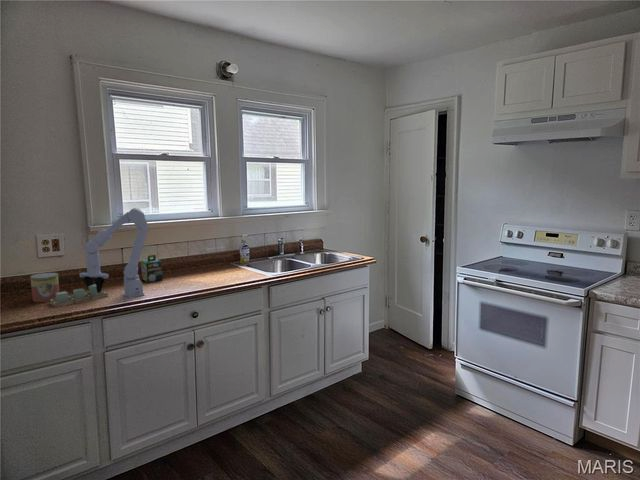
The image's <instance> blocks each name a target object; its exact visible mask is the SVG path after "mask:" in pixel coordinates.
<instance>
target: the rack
mask: <svg viewBox="0 0 640 480" xmlns="http://www.w3.org/2000/svg"><path fill="white" fill-rule="evenodd" d="M68 296H69V300H66V301H61V302H56V298H55V299H50V301H49V304H51V306H53V307H54V308H58V307H64V306H68V305H72V304H73V305H74V304H78V303H83V302H89V301H92V300H98V299H103V298H108V297H109V296H108V292H106V291H103V290H102V294H97V295H92V296H91V295H89V291H87V292H85V296H86V297H82V298H77V299H74V298H73V294H72V295H68Z"/></svg>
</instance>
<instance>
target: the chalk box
mask: <svg viewBox="0 0 640 480" xmlns="http://www.w3.org/2000/svg"><path fill="white" fill-rule="evenodd" d="M156 257H157V256H156V254H152V255H151V254H150V255H147V259H144V260H143V259H142V260H140V263H141V264H140V266H141V268H140V269H141V279H142V280H143V281H145V282H146V283H149V282H150V283H152V282H157V281H162V280H164V279H163V278H164V277H163V261H162V260H160V259H158V258H156Z"/></svg>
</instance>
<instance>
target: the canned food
mask: <svg viewBox="0 0 640 480" xmlns="http://www.w3.org/2000/svg"><path fill="white" fill-rule="evenodd" d="M30 287H31V295H32V301H33V302H35V303H45V302H50V299H55V298H56V293H59V292H60V282H59V273H58V272H42V273H41V272H40V273H36V274H32V275H30Z"/></svg>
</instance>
